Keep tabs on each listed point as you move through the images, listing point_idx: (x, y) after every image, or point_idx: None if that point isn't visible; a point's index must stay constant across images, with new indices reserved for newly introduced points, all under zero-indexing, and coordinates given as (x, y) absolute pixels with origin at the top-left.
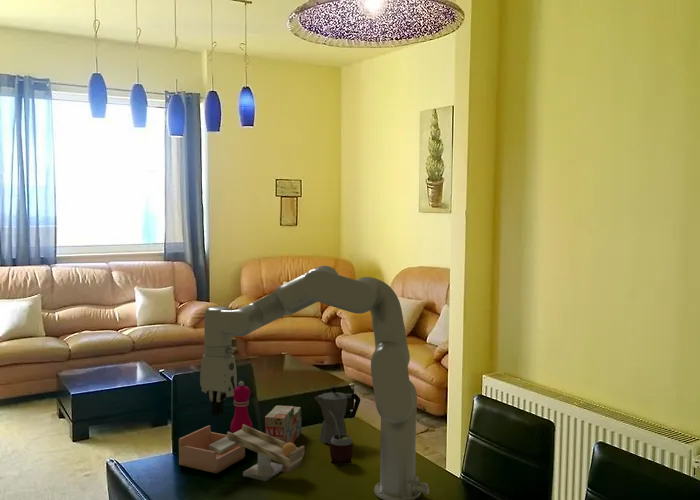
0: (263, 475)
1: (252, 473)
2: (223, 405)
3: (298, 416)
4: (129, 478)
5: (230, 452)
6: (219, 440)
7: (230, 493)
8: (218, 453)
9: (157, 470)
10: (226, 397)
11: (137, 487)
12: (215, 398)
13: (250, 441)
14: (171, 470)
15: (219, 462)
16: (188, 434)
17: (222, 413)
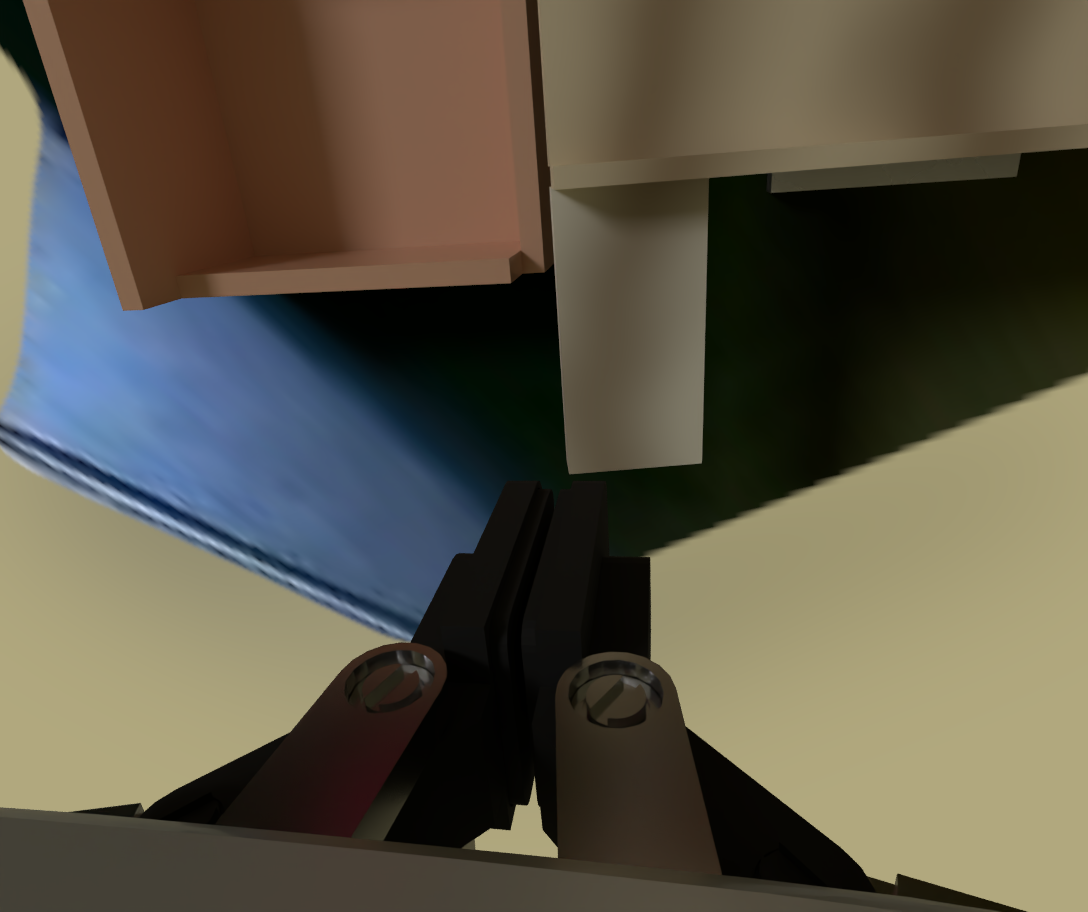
0: (977, 161)
1: (862, 177)
2: (648, 616)
3: None
4: (223, 543)
5: (530, 56)
6: (567, 327)
7: (845, 460)
8: None
9: (234, 403)
10: (763, 792)
11: (346, 601)
12: (479, 814)
13: (900, 142)
14: (292, 364)
15: (547, 226)
16: (81, 174)
17: (606, 493)
